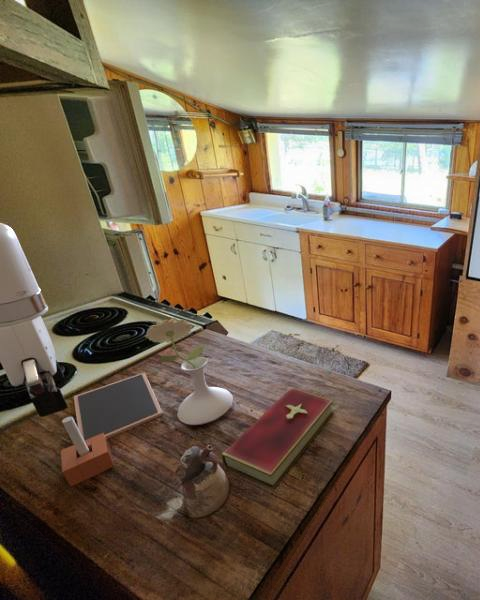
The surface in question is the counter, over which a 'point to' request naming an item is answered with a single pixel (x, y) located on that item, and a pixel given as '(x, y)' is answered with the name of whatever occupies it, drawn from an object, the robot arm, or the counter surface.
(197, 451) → the figurine
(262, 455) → the hardcover book
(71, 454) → the block
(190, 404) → the flower in vase
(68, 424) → the light grey square peg
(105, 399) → the framed chalkboard
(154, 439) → the counter surface
